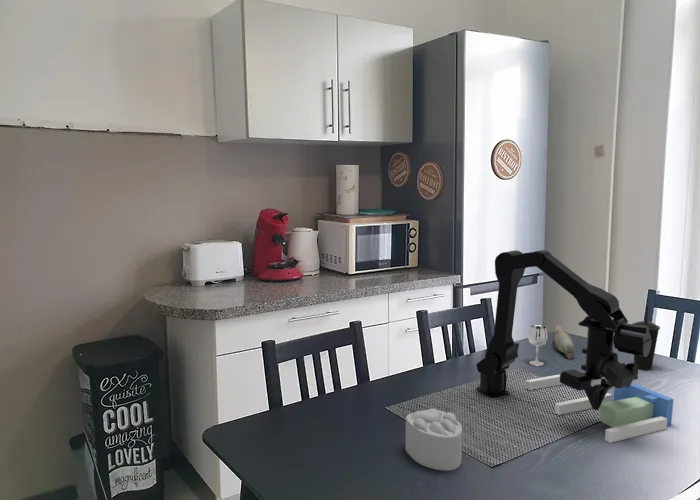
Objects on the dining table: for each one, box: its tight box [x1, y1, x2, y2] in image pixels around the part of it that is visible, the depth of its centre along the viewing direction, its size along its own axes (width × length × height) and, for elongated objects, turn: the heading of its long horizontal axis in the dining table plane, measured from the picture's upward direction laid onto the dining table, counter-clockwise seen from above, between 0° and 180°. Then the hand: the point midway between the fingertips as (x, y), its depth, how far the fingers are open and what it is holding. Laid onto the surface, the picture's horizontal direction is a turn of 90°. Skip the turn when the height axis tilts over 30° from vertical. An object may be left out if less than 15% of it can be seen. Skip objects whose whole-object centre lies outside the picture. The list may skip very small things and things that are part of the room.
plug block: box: [598, 397, 654, 428], centre depth 132 cm, size 12×5×4 cm, turn 111°
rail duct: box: [525, 373, 674, 444], centre depth 140 cm, size 21×32×6 cm, turn 23°
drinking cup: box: [632, 304, 661, 371], centre depth 169 cm, size 8×8×20 cm
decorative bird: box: [551, 324, 575, 360], centre depth 185 cm, size 5×16×8 cm, turn 173°
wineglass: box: [527, 324, 548, 367], centre depth 173 cm, size 6×6×12 cm
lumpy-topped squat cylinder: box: [405, 408, 463, 472], centre depth 115 cm, size 10×13×9 cm
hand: (595, 409), depth 130 cm, fingers closed
